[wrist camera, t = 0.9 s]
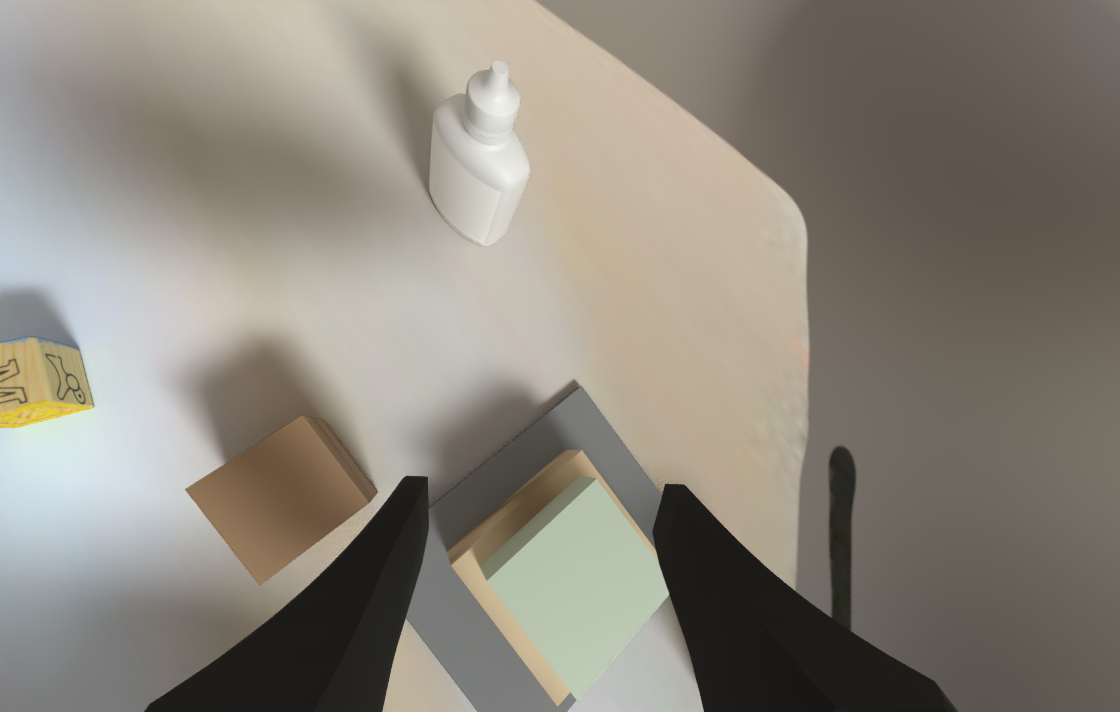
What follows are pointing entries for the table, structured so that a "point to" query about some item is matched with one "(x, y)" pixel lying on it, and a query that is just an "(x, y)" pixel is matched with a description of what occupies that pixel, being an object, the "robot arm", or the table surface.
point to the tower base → (501, 529)
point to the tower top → (578, 582)
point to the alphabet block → (40, 381)
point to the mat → (440, 595)
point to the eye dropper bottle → (479, 157)
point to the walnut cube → (283, 495)
